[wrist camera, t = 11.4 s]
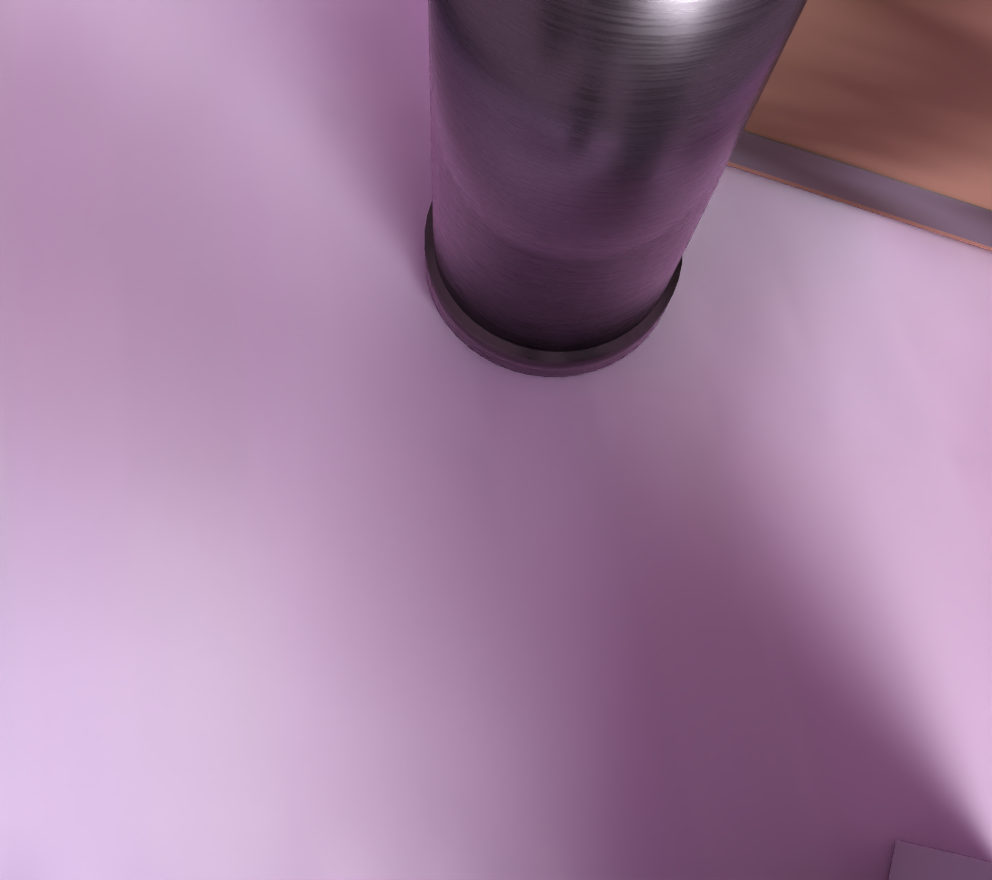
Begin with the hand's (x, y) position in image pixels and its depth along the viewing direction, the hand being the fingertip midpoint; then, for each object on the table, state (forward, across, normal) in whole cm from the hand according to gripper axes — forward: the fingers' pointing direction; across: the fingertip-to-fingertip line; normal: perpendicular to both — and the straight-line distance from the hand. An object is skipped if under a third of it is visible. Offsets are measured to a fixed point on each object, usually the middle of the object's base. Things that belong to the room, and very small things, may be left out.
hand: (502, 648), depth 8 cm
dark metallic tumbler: (+16, 0, +1) cm, 16 cm away
